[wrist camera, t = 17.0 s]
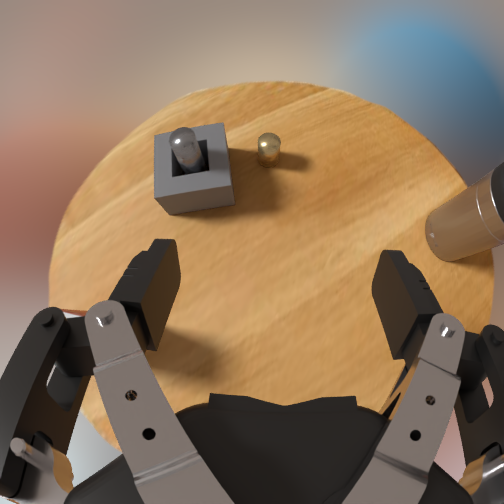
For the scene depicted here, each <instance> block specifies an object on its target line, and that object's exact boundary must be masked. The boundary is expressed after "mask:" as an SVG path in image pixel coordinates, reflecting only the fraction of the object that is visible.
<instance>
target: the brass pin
mask: <svg viewBox="0 0 504 504" xmlns="http://www.w3.org/2000/svg"><path fill="white" fill-rule="evenodd" d="M280 143H281V141H280V138H279V137H278V136H277V135H276V134H273V133H264V134H262V135H261V136H260V137H259V139H258V161H259V163H260V164H261V165H262V166H263V167H267V168H270V167H274V166H275V165H276V164H277V163H278V160H279V152H280Z"/></svg>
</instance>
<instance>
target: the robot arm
mask: <svg viewBox="0 0 504 504" xmlns="http://www.w3.org/2000/svg"><path fill="white" fill-rule="evenodd" d="M425 233H426V238H427V242H428V244H429V246H430V248H431V250H432V251H433V253H434V254H435V255H436V256H437V257H438V258H440V259H441V260H444V261H448V262H451V261H455V260H458V259H461V258H464V257H468V256H471V255H474V254H477V253H479V252H482V251H485V250H488V249H491V248H494V247H496V246H499V245H502V244H504V163H502V164H501V165H499V166H498V167H496V168H495V169H494V170H492V171H491V172H490V173H488V174H487V175H486V176H484V177H483V178H482V179H480V180H479V181H477V182H476V183H474V184H473V185H471V186H470V187H468V188H467V189H465V190H464V191H463V192H461V193H460V194H458V195H457V196H455V197H454V198H452V199H451V200H449V201H448V202H446V203H444V204H443V205H441V206H440V207H438V208H437V209H435V210H434V211H433V212H431V213H430V215H429V216H428V218H427V221H426V226H425ZM180 280H181V272H180V265H179V259H178V252H177V245H176V242H175V240H174V239H155V240H154V241H153V243H152V245H151V246H150V248H149V250H148V251H142V252H140V253H139V254H138V255H137V256H135V257H134V258H133V259H132V261H131V262H130V264H129V265H128V269H126V270H125V272H124V274H123V276H122V277H121V279H120V280H119V282H118V284H117V285H116V287H115V289H114V290H113V292H112V294H111V295H110V297H109V299H108V300H106V301H102V302H99V303H97V304H95V305H93V306H92V307H91V308H90V309H89V310H88V311H87V313H86V315H85V316H81V317H72V318H66V317H65V315H64V313H63V311H62V310H61V309H60V308H57V307H49V308H46V309H43V310H42V311H40V312H39V313H38V314H37V315H36V316H35V317H34V318H33V320H32V321H31V323H30V325H29V327H28V328H27V330H26V332H25V333H24V335H23V337H22V339H21V340H20V342H19V344H18V346H17V348H16V349H15V351H14V353H13V355H12V357H11V359H10V361H9V363H8V365H7V367H6V369H5V371H4V373H3V375H2V377H1V379H0V497H2V498H5V499H7V500H9V501H12V502H14V503H16V504H504V331H503V330H502V329H500V328H499V327H497V326H495V325H487V326H485V327H484V328H483V330H482V331H481V333H480V334H476V333H471V332H467V331H465V330H464V327H463V325H462V324H461V322H460V321H459V320H458V319H456V318H455V317H453V316H452V315H449V314H446V313H443V311H442V309H441V307H440V305H439V303H438V301H437V299H436V298H435V296H434V294H433V292H432V290H430V287H429V285H428V283H427V282H426V280H425V278H424V276H423V274H422V273H421V271H420V270H419V269H417V268H416V267H415V266H414V265H413V264H411V263H409V262H408V260H407V258H406V257H405V255H404V253H403V252H402V251H399V250H383V251H382V253H381V255H380V259H379V262H378V265H377V269H376V272H375V275H374V278H373V282H372V296H373V299H374V302H375V304H376V307H377V310H378V313H379V316H380V319H381V322H382V325H383V328H384V331H385V334H386V338H387V341H388V344H389V347H390V351H391V354H392V357H393V360H397V359H404V360H405V365H404V366H403V368H402V370H401V372H400V374H399V376H398V378H397V380H396V382H395V384H394V386H393V388H392V390H391V392H390V394H389V396H388V398H387V400H386V401H385V403H384V405H383V406H382V408H381V410H380V411H379V412H376V411H373V410H371V409H369V408H365V407H362V406H357V401H356V396H344V397H322V398H318V399H314V400H310V401H306V402H301V403H297V404H293V405H288V406H282V405H278V404H274V403H270V402H266V401H262V400H258V399H255V398H251V397H248V396H237V395H225V394H214V393H210V397H209V403H202V404H198V405H194V406H191V407H188V408H185V409H183V410H181V411H179V412H177V413H175V414H174V412H173V410H172V408H171V406H170V405H169V403H168V401H167V399H166V397H165V395H164V393H163V392H162V390H161V388H160V386H159V384H158V382H157V380H156V378H155V376H154V374H153V372H152V370H151V368H150V366H149V364H148V361H147V359H146V357H145V355H144V354H145V352H146V349H147V350H153V351H157V348H158V345H159V342H160V340H161V337H162V334H163V331H164V328H165V325H166V322H167V320H168V317H169V314H170V311H171V308H172V306H173V303H174V300H175V297H176V295H177V292H178V289H179V286H180ZM54 364H55V366H56V367H55V369H54V372H53V374H52V377H51V379H50V381H49V383H48V386H47V385H46V384H47V380H48V377H49V375H50V373H51V370H52V368H53V366H54ZM91 375H94V376H95V379H96V382H97V385H98V389H99V392H100V395H101V398H102V401H103V404H104V407H105V409H106V412H107V415H108V418H109V420H110V423H111V426H112V428H113V431H114V433H115V436H116V438H117V440H118V443H119V445H120V448H121V450H122V452H123V454H121V455H120V456H119V457H117V458H116V459H115V460H113V461H112V462H111V463H109V464H108V465H106V466H105V467H103V468H102V469H101V470H99V471H98V472H96V473H95V474H94V475H92V476H91V477H89V478H88V479H86V480H85V481H83V482H82V483H80V484H79V485H77V486H76V487H73V484H72V481H73V478H74V476H73V473H72V467H71V463H70V461H69V459H68V458H67V457H66V454H67V450H68V447H69V443H70V440H71V436H72V433H73V429H74V426H75V422H76V419H77V416H78V413H79V410H80V407H81V404H82V401H83V398H84V395H85V392H86V389H87V386H88V383H89V381H90V378H91ZM486 377H488V380H489V383H490V385H491V388H492V391H493V395H494V399H493V403H492V405H491V407H490V408H489V405H488V401H487V398H486V395H485V392H484V389H483V386H482V382H483V381H484V380H485V378H486ZM453 407H454V409H455V414H456V417H457V422H458V426H459V431H460V436H461V441H462V446H463V451H464V457H465V464H466V468H465V471H464V473H463V477H462V478H461V479H460V480H459V482H458V483H457V481H455V480H454V479H453V478H452V477H451V476H450V475H449V474H448V473H446V472H445V471H444V470H443V469H442V468H441V467H439V466H438V465H437V464H436V463H435V462H434V458H435V456H436V454H437V451H438V449H439V446H440V444H441V441H442V439H443V436H444V434H445V431H446V428H447V425H448V422H449V419H450V417H451V414H452V411H453Z"/></svg>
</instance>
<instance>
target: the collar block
mask: <svg viewBox="0 0 504 504" xmlns="http://www.w3.org/2000/svg"><path fill="white" fill-rule="evenodd" d="M190 129H192V130H193V131H194V133H195V136H196V139H197V142H198V145H199V147H200V150H201V153H202V156H203V159H204V162H205V165H207V164H209V170H210V171H205V172H199V173H193V174H188V175H183V169H182V167H181V165H180V163H179V161H178V160H177V158H176V156H175V154H174V152H173V150H172V148H171V146H170V144H169V137H170V135H171V134H172V132H174V131H172V132H168V133H163V134H159V135H155V138H154V198H155V199H156V200H157V202H158V203H159V204H160V205H161V206H162V207H163V208H164V210H165V211H166V212H167V213H168V214H169V215H173V214H179V213H185V212H191V211H198V210H204V209H210V208H217V207H224V206H231V205H235V199H234V191H233V184H232V176H231V168H230V160H229V152H228V145H227V140H226V134H225V129H224V123H216V124H210V125H204V126H198V127H193V128H190Z"/></svg>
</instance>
